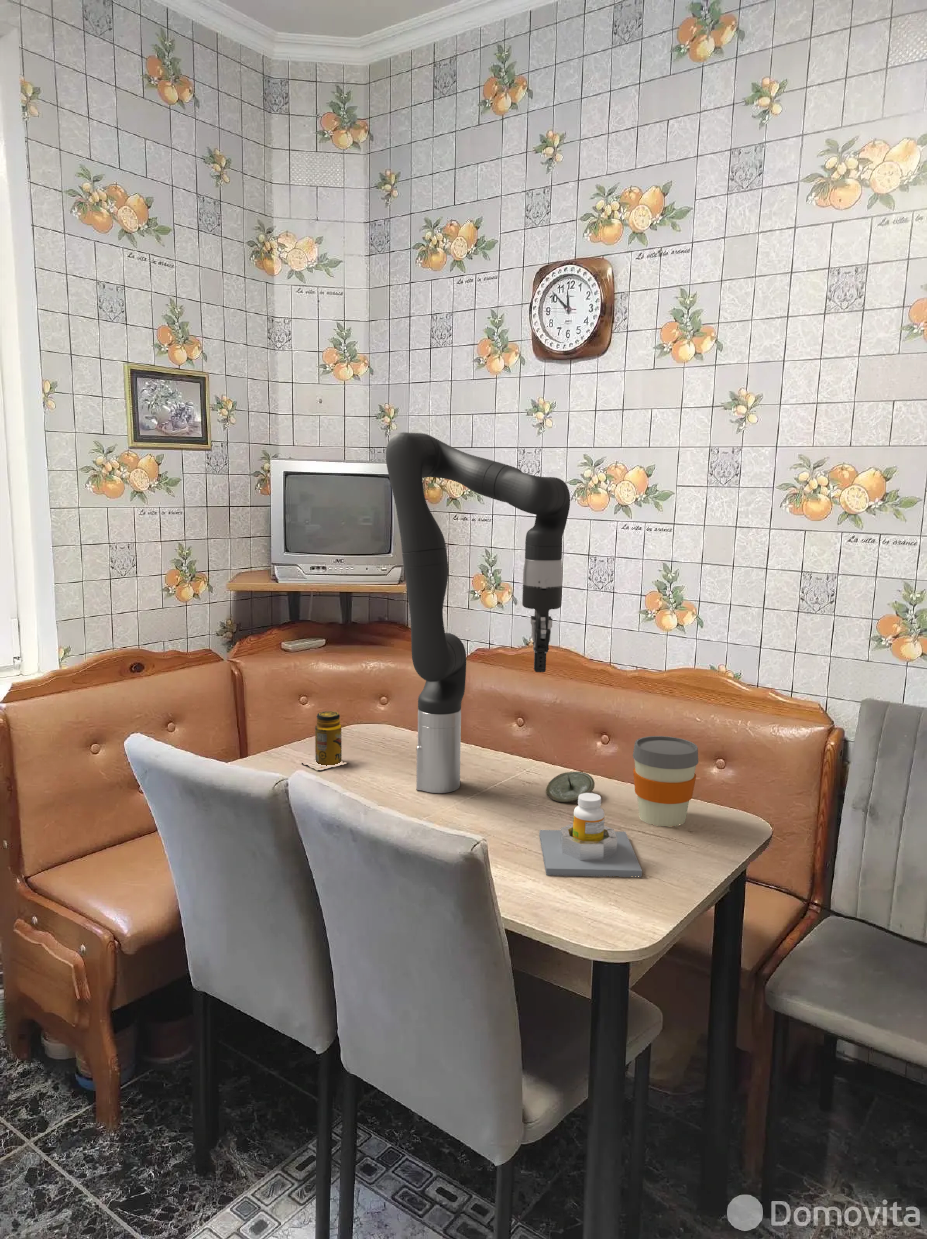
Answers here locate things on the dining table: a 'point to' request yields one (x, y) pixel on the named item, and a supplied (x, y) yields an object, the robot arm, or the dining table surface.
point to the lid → (569, 786)
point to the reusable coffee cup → (664, 778)
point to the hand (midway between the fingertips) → (539, 671)
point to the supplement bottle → (588, 818)
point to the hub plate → (569, 866)
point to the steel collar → (588, 845)
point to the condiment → (328, 738)
